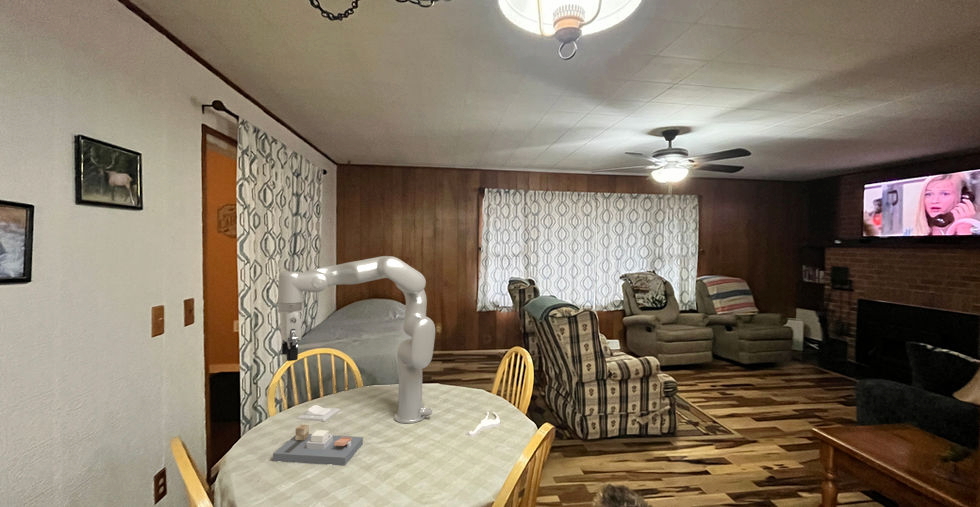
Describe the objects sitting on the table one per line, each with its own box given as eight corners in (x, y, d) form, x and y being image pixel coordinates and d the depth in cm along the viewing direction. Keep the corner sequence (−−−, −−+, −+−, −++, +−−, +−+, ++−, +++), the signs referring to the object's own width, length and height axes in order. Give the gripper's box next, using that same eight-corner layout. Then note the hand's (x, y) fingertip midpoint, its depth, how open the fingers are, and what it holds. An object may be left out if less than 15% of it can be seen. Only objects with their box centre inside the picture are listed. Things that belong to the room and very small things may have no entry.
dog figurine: (469, 411, 165) (465, 432, 145) (500, 411, 165) (500, 433, 145) (469, 415, 165) (465, 438, 145) (500, 416, 165) (500, 438, 145)
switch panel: (362, 444, 138) (363, 431, 138) (344, 465, 124) (345, 451, 124) (297, 440, 140) (297, 427, 140) (272, 461, 126) (272, 447, 126)
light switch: (312, 401, 169) (339, 402, 167) (313, 411, 169) (340, 412, 167) (295, 411, 159) (324, 412, 156) (296, 421, 159) (324, 423, 156)
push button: (328, 437, 134) (328, 430, 134) (322, 443, 130) (322, 436, 130) (317, 437, 135) (317, 430, 135) (311, 442, 131) (311, 435, 131)
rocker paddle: (351, 442, 134) (351, 436, 135) (343, 447, 129) (344, 441, 129) (342, 442, 135) (342, 436, 135) (334, 446, 129) (334, 440, 129)
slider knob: (308, 436, 137) (308, 424, 137) (303, 440, 134) (304, 428, 134) (300, 435, 138) (300, 424, 138) (295, 440, 135) (295, 428, 135)
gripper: (307, 309, 131) (306, 361, 131) (297, 303, 144) (296, 350, 144) (282, 311, 126) (281, 364, 126) (274, 305, 140) (273, 353, 140)
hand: (289, 357), depth 135 cm, fingers open, 9 cm apart
